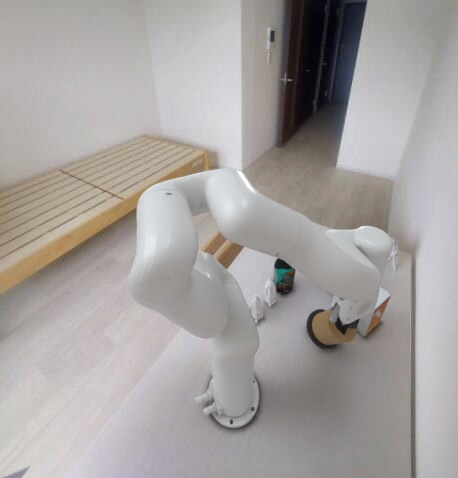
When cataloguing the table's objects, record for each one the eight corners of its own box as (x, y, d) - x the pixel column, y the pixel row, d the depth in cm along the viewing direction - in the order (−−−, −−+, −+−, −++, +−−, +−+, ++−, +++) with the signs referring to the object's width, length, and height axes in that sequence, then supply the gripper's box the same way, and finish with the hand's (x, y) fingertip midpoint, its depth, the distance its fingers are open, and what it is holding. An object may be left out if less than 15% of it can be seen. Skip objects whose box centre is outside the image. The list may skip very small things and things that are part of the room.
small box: (364, 337, 78) (375, 309, 72) (345, 320, 83) (354, 292, 77) (380, 322, 82) (391, 294, 76) (361, 306, 87) (370, 279, 81)
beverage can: (291, 297, 90) (295, 272, 84) (270, 291, 92) (273, 267, 87) (294, 280, 96) (297, 256, 90) (274, 275, 98) (276, 251, 92)
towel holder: (350, 354, 61) (326, 308, 66) (318, 356, 74) (300, 317, 79) (381, 335, 65) (356, 292, 70) (345, 340, 78) (326, 304, 83)
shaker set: (270, 291, 92) (272, 269, 87) (280, 299, 90) (283, 276, 84) (246, 315, 85) (247, 291, 80) (256, 324, 82) (258, 301, 77)
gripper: (345, 304, 54) (330, 355, 63) (401, 276, 60) (380, 326, 68) (320, 276, 60) (309, 326, 69) (373, 253, 66) (357, 302, 74)
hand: (345, 325), depth 69 cm, fingers closed on towel holder, 2 cm apart
